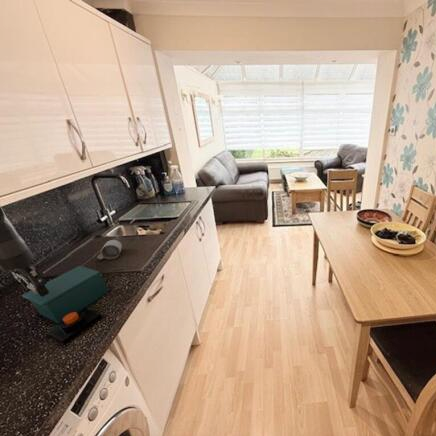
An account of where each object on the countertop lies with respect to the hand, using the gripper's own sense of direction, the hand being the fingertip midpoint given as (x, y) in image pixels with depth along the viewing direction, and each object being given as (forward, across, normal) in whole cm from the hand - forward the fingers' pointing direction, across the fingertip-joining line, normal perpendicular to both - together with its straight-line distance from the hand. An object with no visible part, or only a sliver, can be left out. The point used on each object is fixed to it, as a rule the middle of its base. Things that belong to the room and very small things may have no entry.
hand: (38, 291), depth 80 cm
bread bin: (+11, 0, +7) cm, 13 cm away
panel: (+11, +14, 0) cm, 18 cm away
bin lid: (+2, 0, +6) cm, 7 cm away
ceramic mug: (+11, -19, +33) cm, 40 cm away
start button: (+8, +13, 0) cm, 16 cm away
